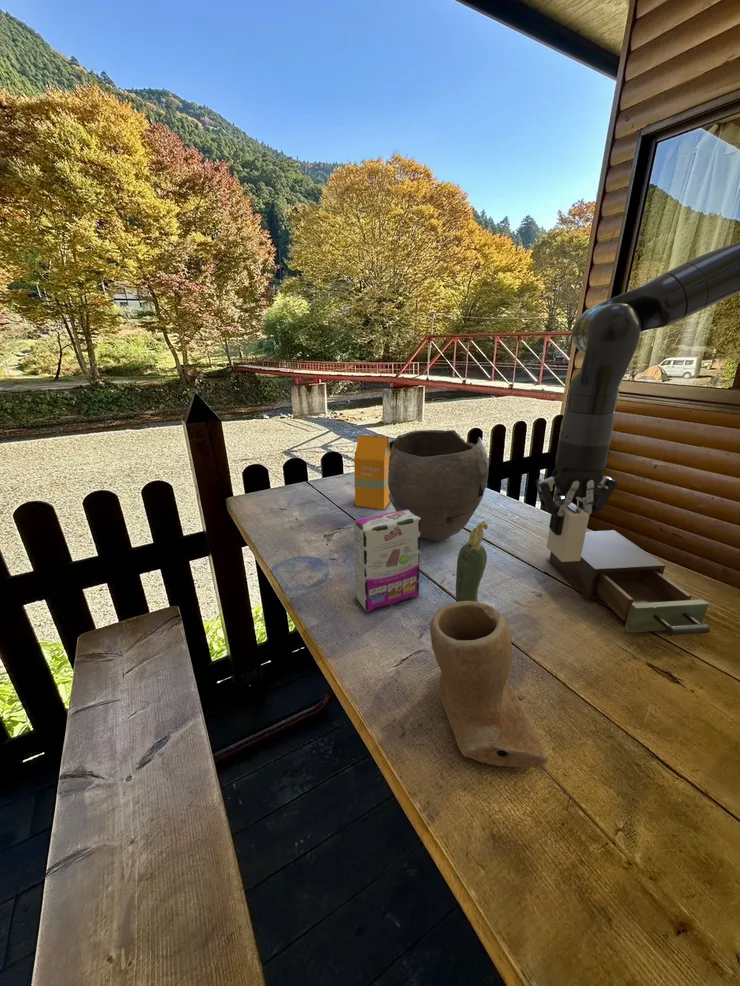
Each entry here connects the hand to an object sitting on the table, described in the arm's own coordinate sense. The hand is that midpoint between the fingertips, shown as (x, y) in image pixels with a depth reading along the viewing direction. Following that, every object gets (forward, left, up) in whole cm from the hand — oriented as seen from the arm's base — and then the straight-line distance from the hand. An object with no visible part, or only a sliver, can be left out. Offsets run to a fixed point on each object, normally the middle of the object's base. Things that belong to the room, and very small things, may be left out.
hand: (566, 532), depth 73 cm
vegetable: (+20, +8, -13) cm, 25 cm away
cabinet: (-12, -5, -13) cm, 19 cm away
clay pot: (+18, -26, -13) cm, 34 cm away
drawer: (-12, +8, -12) cm, 19 cm away
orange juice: (+30, -49, -13) cm, 59 cm away
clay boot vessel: (+24, +25, -13) cm, 37 cm away
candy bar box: (+32, -2, -13) cm, 35 cm away
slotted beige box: (0, 0, -4) cm, 4 cm away
